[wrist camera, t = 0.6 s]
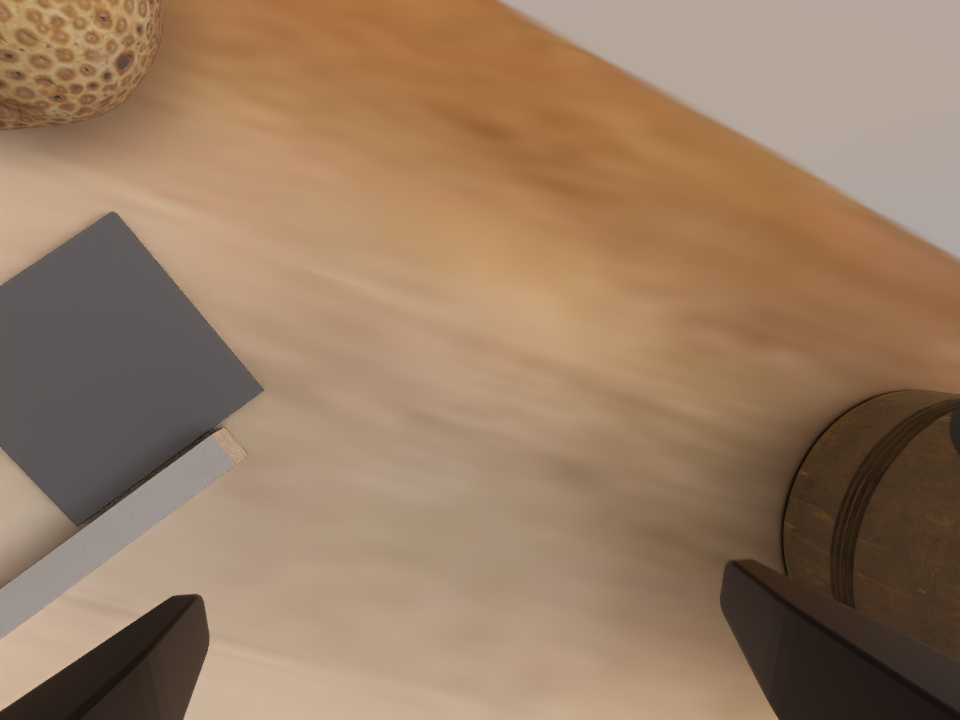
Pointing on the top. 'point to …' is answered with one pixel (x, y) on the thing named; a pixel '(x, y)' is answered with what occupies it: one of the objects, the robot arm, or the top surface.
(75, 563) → the steel straightedge
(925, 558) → the wooden container
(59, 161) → the top surface
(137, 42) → the natural sponge
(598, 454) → the top surface
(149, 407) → the grey square plate
